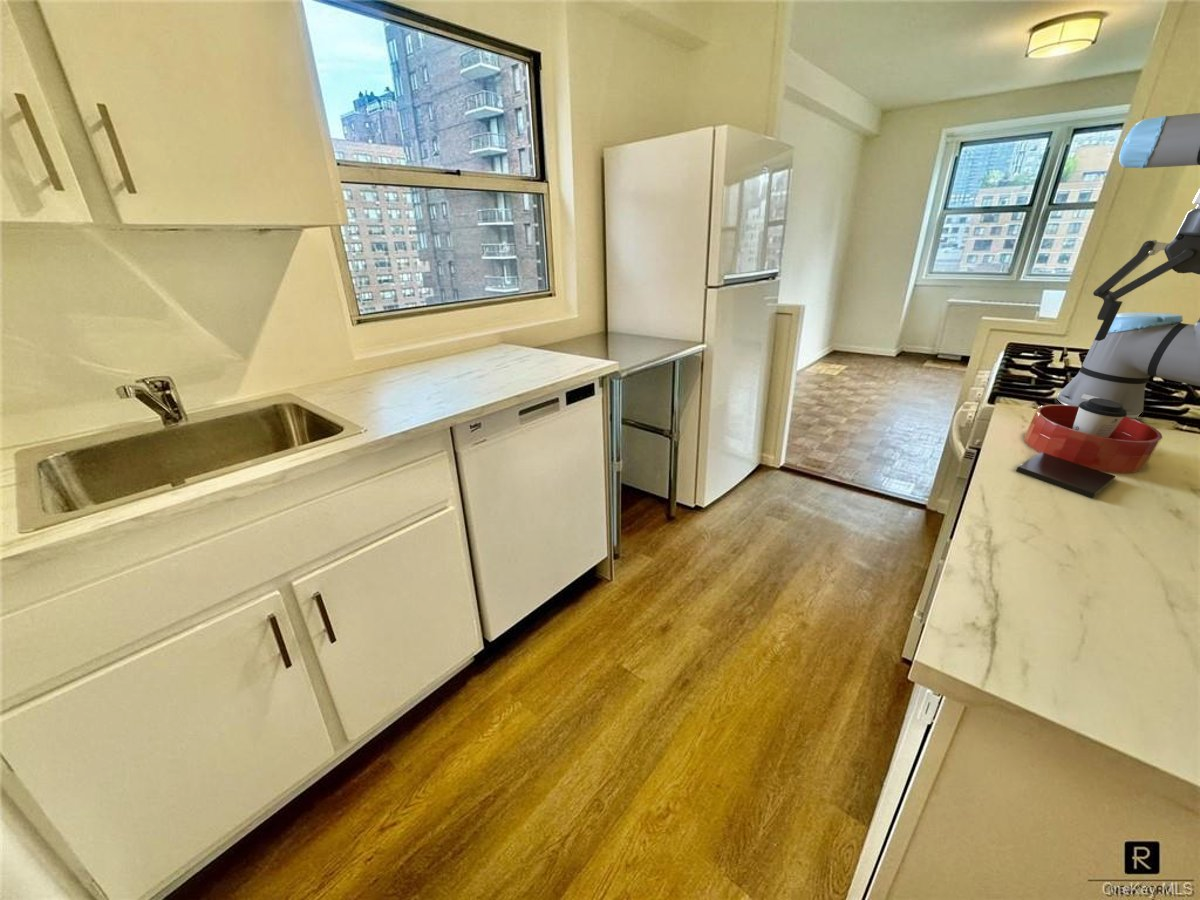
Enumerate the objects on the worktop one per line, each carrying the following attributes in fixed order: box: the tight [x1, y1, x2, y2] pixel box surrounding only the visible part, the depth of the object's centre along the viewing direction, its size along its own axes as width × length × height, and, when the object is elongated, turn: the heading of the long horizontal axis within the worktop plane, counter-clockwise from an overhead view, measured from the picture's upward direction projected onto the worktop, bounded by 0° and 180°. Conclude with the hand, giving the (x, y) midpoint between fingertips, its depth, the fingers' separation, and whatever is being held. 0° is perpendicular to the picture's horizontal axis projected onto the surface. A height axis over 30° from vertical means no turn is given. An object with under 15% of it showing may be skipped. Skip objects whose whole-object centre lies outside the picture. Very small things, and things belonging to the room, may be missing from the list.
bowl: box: [1023, 404, 1163, 474], centre depth 96 cm, size 18×18×6 cm
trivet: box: [1015, 452, 1116, 499], centre depth 88 cm, size 11×11×1 cm
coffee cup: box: [1072, 398, 1127, 438], centre depth 95 cm, size 7×7×10 cm
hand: (1152, 348), depth 81 cm, fingers open, 13 cm apart
